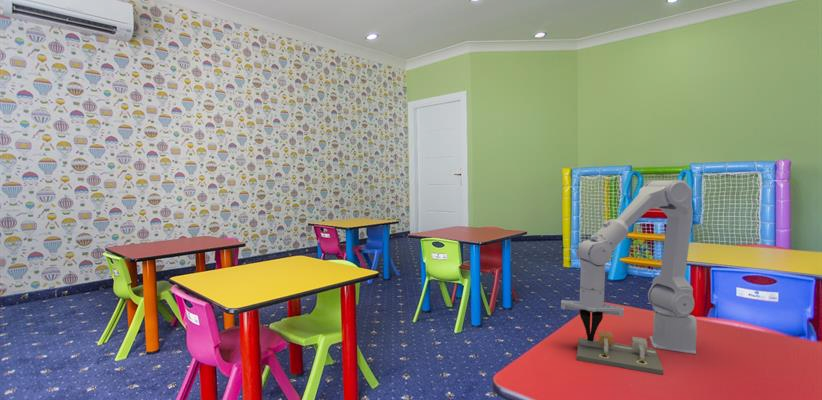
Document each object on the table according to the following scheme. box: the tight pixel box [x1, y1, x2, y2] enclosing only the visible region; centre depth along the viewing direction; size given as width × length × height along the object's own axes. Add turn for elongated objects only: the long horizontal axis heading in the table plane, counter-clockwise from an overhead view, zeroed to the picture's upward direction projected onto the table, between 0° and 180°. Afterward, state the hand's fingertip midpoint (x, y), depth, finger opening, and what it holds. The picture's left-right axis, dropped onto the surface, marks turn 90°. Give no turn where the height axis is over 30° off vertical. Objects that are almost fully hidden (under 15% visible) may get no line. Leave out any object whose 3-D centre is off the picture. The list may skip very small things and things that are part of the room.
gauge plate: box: [576, 337, 664, 375], centre depth 102 cm, size 18×13×2 cm
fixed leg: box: [631, 336, 648, 362], centre depth 99 cm, size 3×8×3 cm, turn 156°
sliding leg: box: [598, 330, 613, 356], centre depth 102 cm, size 3×8×3 cm, turn 156°
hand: (590, 339), depth 106 cm, fingers closed
